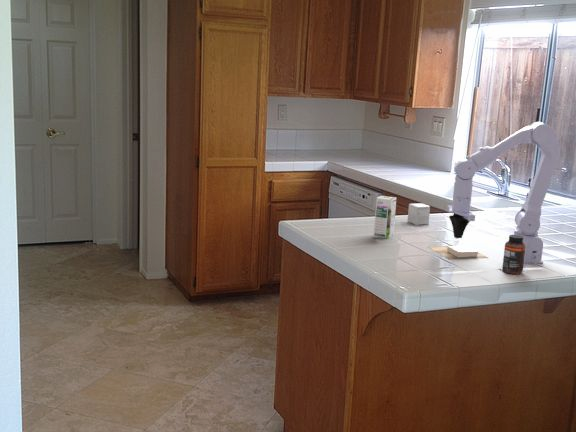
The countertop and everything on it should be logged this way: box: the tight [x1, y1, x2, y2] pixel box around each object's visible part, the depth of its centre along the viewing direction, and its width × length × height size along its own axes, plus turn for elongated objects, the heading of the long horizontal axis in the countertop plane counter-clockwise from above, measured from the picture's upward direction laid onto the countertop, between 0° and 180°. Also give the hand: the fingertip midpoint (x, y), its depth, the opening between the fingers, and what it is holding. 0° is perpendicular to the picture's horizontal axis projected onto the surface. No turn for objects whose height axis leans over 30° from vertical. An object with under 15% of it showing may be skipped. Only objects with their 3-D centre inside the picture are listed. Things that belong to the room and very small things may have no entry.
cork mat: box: [428, 244, 489, 260], centre depth 219 cm, size 15×14×1 cm
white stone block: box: [406, 203, 431, 226], centre depth 260 cm, size 6×6×7 cm
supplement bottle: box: [501, 234, 525, 275], centre depth 200 cm, size 6×6×11 cm
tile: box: [447, 245, 479, 258], centre depth 216 cm, size 2×7×7 cm
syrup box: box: [373, 195, 397, 239], centre depth 235 cm, size 6×6×14 cm
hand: (457, 237), depth 218 cm, fingers closed
